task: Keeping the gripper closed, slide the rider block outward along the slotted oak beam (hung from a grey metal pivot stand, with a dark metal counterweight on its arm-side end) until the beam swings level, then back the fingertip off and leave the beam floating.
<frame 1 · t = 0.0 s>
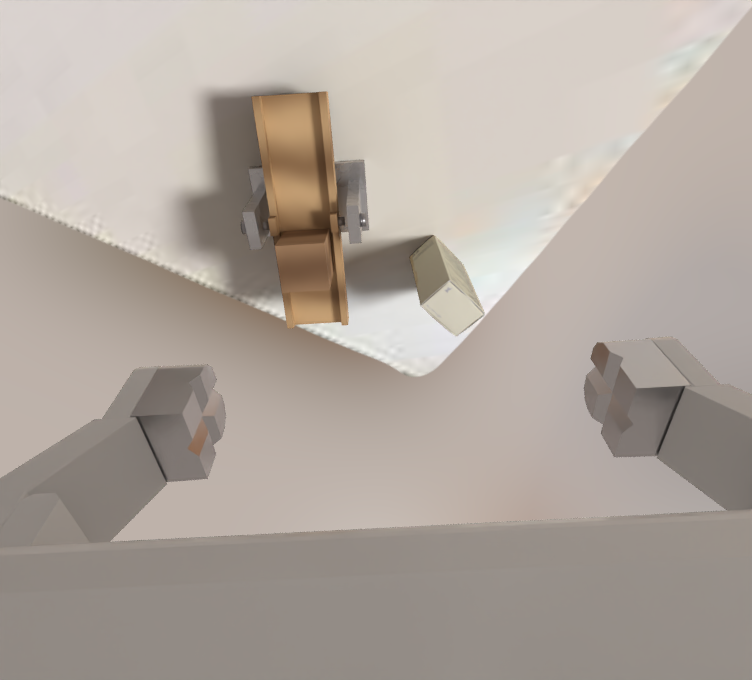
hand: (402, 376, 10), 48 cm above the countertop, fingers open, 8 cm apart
pivot stand: (311, 198, 57), on the countertop
rider: (309, 251, 53), point 7 cm above the countertop, tilted 8°, touching beam
beam: (306, 218, 52), point 6 cm above the countertop, hinge at -8.0°, touching rider
skincare box: (437, 260, 62), on the countertop
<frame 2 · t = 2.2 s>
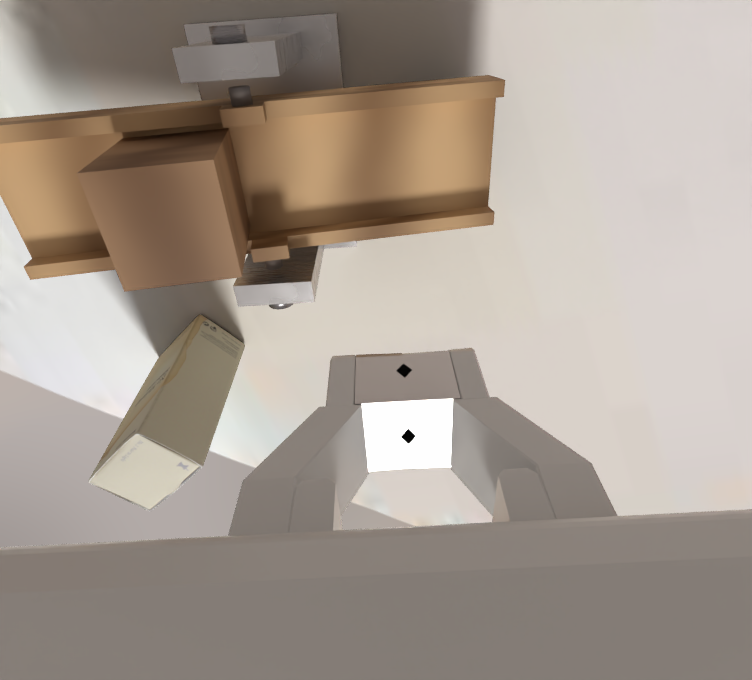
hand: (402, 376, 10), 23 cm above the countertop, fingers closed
pivot stand: (282, 146, 29), on the countertop
rider: (190, 184, 24), point 7 cm above the countertop, tilted 8°, touching beam
beam: (260, 173, 25), point 6 cm above the countertop, hinge at -8.0°, touching rider
skincare box: (202, 350, 38), on the countertop
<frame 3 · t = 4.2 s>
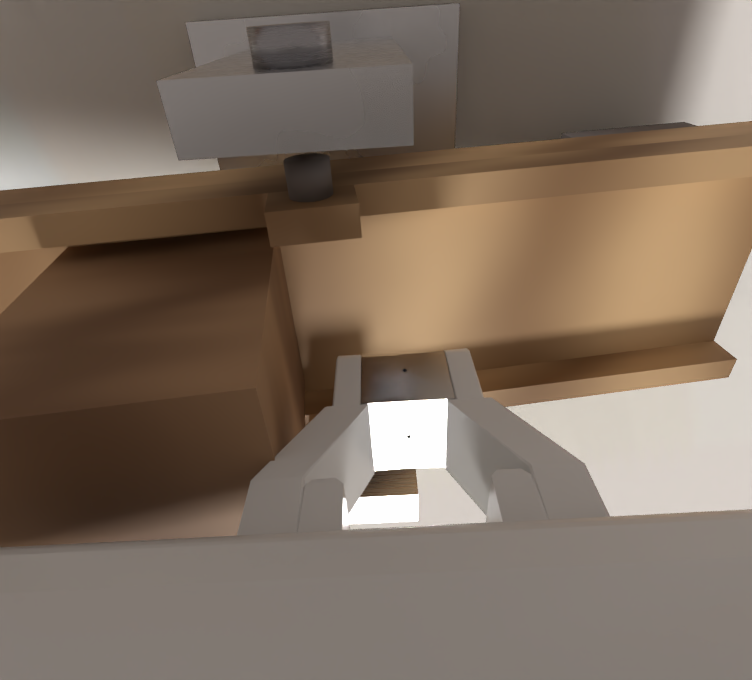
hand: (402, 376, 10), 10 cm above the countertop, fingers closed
pivot stand: (344, 218, 18), on the countertop
rider: (200, 322, 13), point 7 cm above the countertop, tilted 6°, touching beam, gripper
beam: (326, 293, 14), point 6 cm above the countertop, hinge at -6.5°, touching rider
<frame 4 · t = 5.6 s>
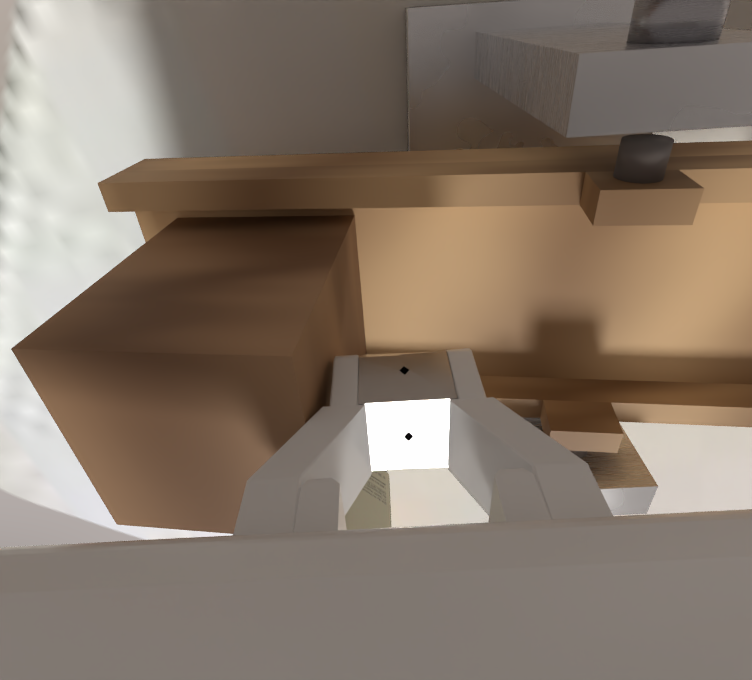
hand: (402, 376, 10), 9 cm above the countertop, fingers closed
pivot stand: (515, 209, 18), on the countertop
rider: (279, 296, 14), point 5 cm above the countertop, tilted 8°, touching beam, gripper
beam: (580, 280, 13), point 6 cm above the countertop, hinge at 8.0°, touching rider
skincare box: (325, 479, 27), on the countertop
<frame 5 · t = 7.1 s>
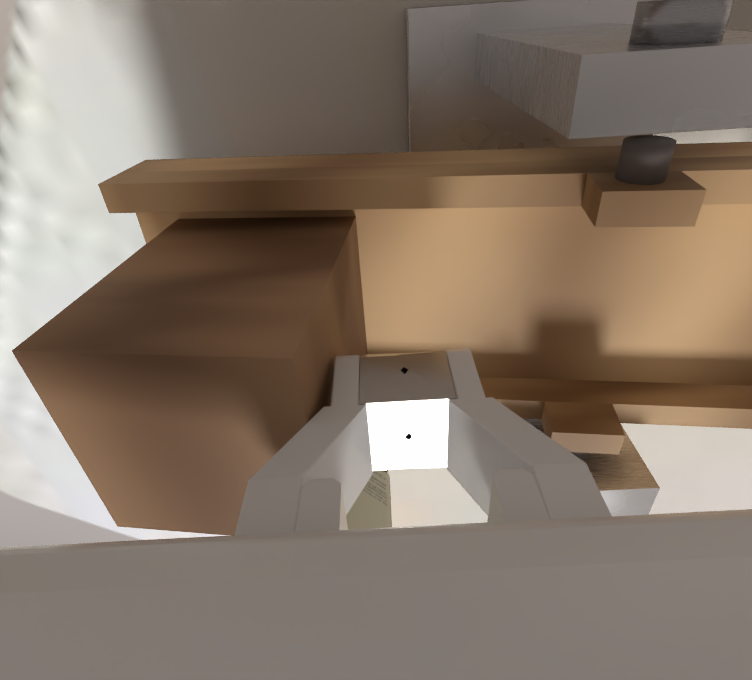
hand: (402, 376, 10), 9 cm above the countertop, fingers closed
pivot stand: (516, 210, 18), on the countertop
rider: (280, 298, 14), point 5 cm above the countertop, tilted 8°, touching beam, gripper
beam: (581, 281, 13), point 6 cm above the countertop, hinge at 8.1°, touching rider
skincare box: (325, 480, 27), on the countertop
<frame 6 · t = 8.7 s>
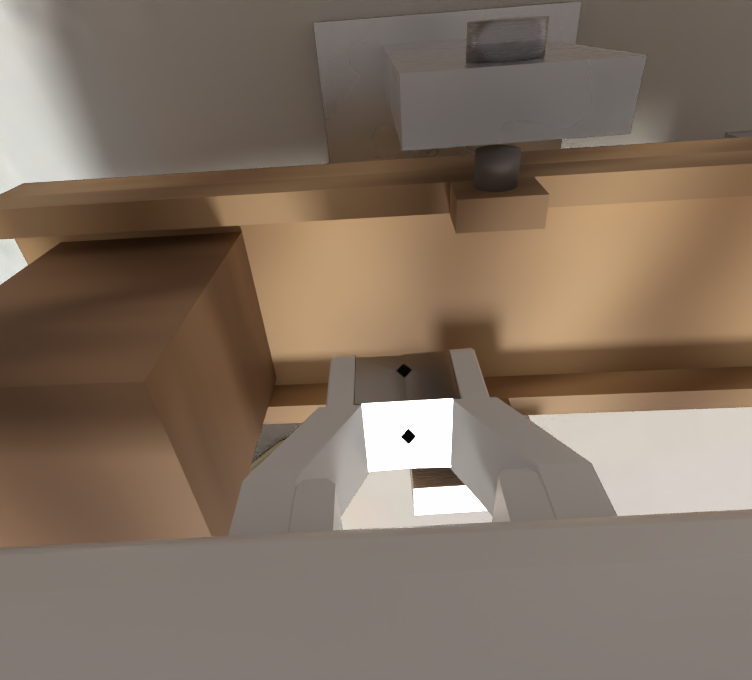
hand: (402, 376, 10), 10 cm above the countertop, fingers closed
pivot stand: (441, 214, 19), on the countertop
rider: (178, 316, 14), point 6 cm above the countertop, touching beam
beam: (472, 283, 14), point 6 cm above the countertop, hinge at 2.6°, touching rider
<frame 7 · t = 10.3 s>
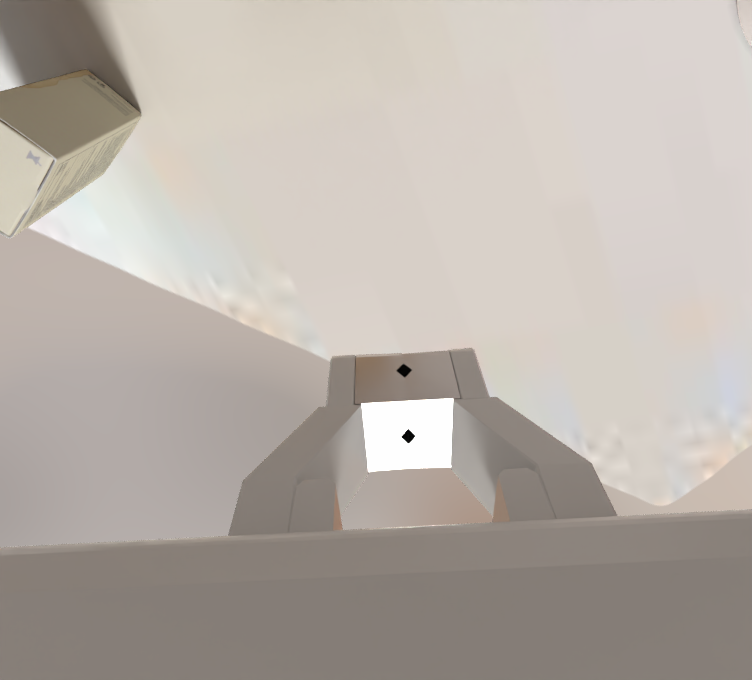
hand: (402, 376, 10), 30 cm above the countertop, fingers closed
skincare box: (97, 126, 35), on the countertop
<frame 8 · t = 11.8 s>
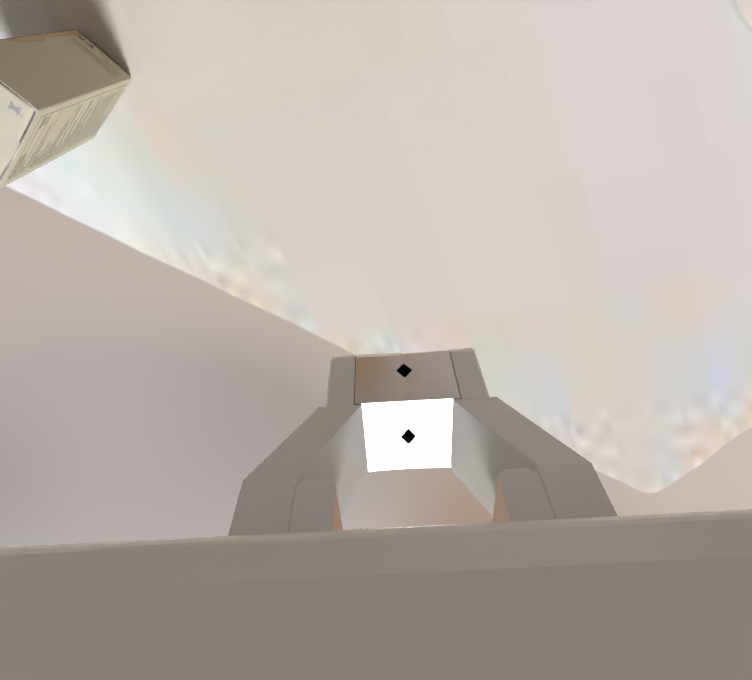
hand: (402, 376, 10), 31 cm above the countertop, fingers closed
skincare box: (86, 89, 35), on the countertop
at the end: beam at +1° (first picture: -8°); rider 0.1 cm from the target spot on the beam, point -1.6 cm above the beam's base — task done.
